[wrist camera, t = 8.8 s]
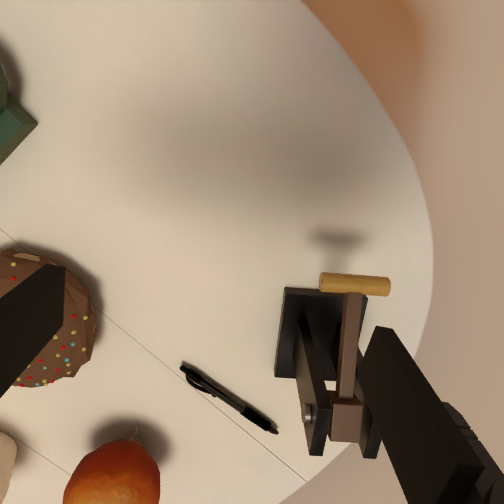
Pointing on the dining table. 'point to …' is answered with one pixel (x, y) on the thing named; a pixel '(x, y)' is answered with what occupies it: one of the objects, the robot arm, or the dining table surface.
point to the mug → (6, 463)
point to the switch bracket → (318, 362)
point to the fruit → (115, 476)
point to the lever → (349, 350)
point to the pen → (226, 398)
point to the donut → (70, 334)
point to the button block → (11, 120)
